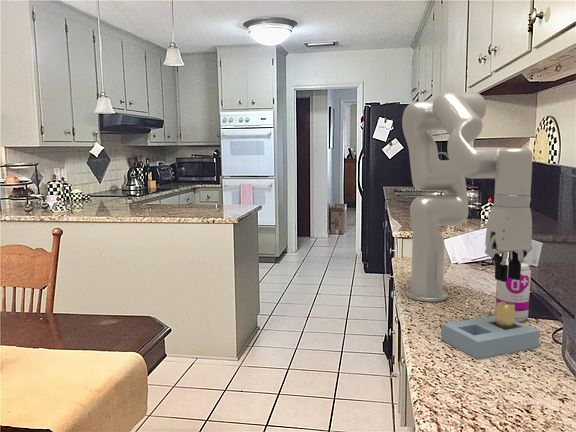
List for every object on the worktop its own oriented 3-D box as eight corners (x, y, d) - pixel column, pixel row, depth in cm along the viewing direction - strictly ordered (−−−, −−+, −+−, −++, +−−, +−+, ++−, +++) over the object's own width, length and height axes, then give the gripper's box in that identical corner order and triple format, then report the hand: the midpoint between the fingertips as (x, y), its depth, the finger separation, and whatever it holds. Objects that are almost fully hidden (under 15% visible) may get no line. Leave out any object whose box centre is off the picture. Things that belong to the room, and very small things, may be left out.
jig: (441, 339, 119) (442, 324, 118) (499, 329, 125) (500, 314, 125) (477, 359, 108) (478, 341, 107) (538, 347, 114) (539, 330, 114)
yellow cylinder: (491, 335, 119) (492, 303, 118) (503, 332, 121) (504, 300, 120) (504, 340, 115) (506, 307, 115) (517, 338, 117) (518, 305, 116)
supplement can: (531, 323, 130) (535, 268, 128) (498, 321, 131) (501, 266, 129) (523, 313, 138) (526, 261, 136) (492, 311, 139) (494, 259, 137)
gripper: (525, 199, 120) (521, 272, 123) (471, 202, 114) (468, 279, 117) (552, 202, 113) (546, 280, 116) (496, 205, 107) (491, 287, 110)
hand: (507, 278), depth 116 cm, fingers open, 3 cm apart
